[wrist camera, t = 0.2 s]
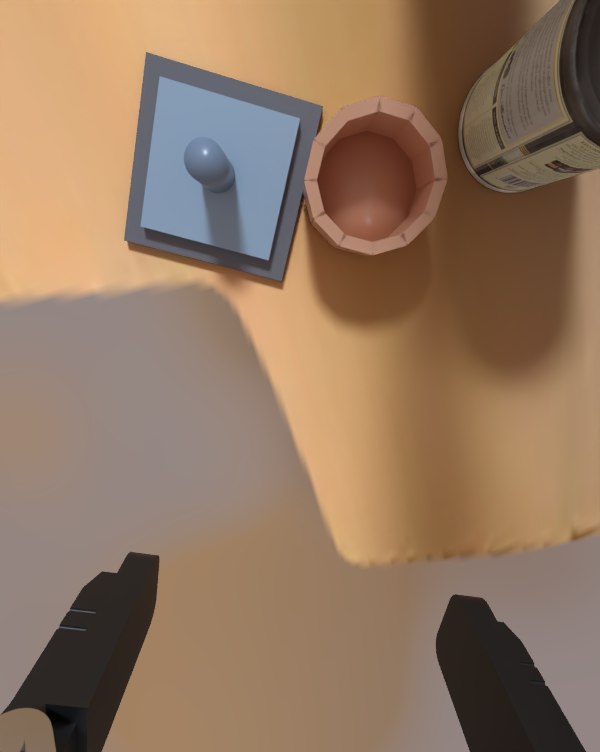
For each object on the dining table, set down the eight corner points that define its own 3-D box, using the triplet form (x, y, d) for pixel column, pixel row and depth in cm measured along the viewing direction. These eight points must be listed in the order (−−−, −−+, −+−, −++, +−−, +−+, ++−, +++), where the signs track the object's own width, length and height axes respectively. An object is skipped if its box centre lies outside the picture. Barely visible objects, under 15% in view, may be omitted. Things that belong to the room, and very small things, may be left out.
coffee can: (577, 32, 30) (803, -144, 17) (584, 174, 33) (780, 120, 20) (447, 72, 31) (565, -66, 18) (465, 208, 34) (578, 178, 21)
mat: (148, 56, 30) (146, 52, 30) (322, 109, 32) (322, 106, 31) (126, 240, 34) (124, 240, 34) (281, 281, 36) (281, 281, 35)
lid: (162, 80, 30) (134, 41, 25) (300, 121, 31) (301, 93, 26) (143, 226, 33) (114, 221, 28) (268, 260, 34) (264, 261, 29)
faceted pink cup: (321, 108, 32) (327, 78, 26) (438, 143, 32) (466, 122, 27) (291, 236, 34) (291, 233, 29) (399, 265, 35) (418, 267, 30)
